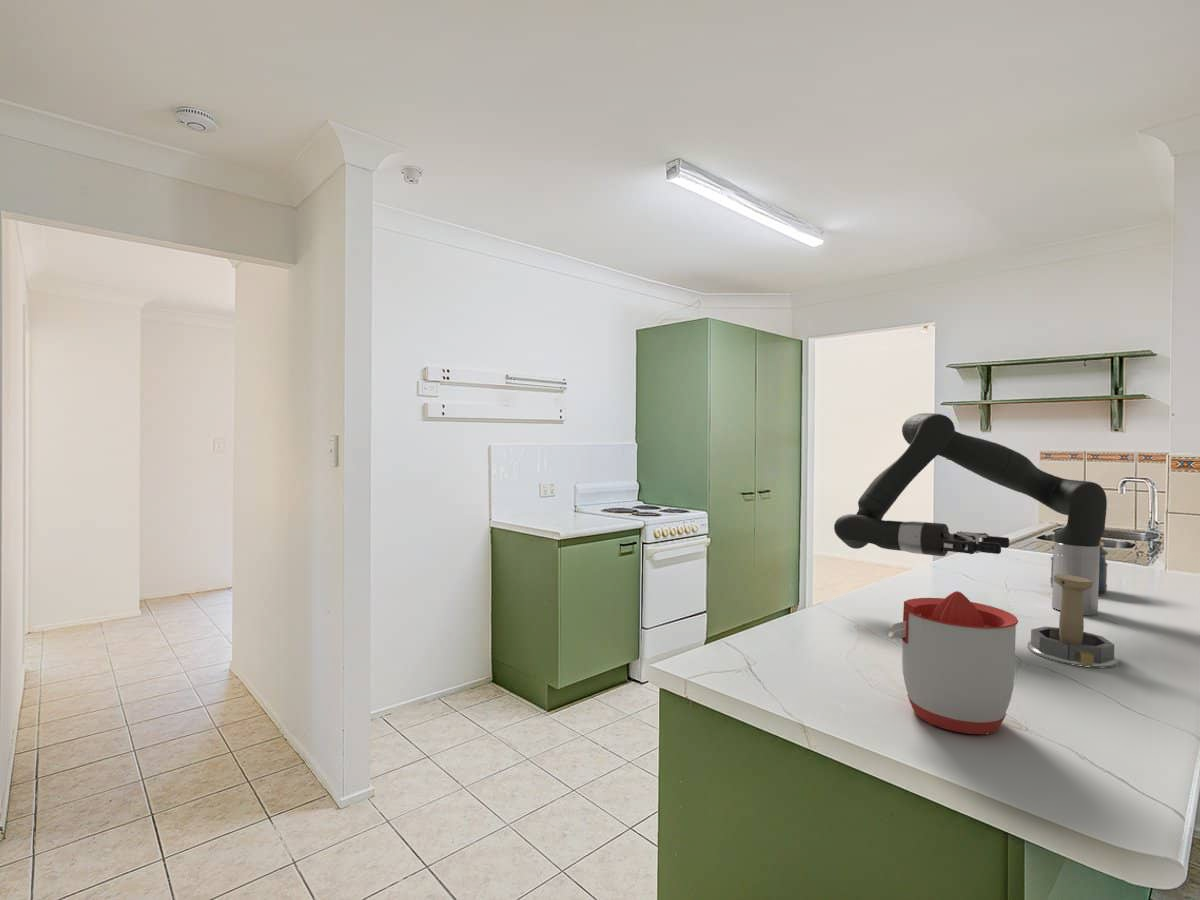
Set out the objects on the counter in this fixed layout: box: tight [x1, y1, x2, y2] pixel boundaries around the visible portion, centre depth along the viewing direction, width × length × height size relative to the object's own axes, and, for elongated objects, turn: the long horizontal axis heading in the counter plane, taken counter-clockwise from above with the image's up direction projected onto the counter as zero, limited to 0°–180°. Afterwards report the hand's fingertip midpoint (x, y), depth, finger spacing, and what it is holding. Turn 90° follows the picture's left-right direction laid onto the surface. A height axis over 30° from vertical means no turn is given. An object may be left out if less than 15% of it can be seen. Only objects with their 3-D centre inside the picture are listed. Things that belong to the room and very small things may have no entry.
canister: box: [1049, 540, 1109, 595], centre depth 176 cm, size 13×13×18 cm
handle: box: [1054, 574, 1093, 645], centre depth 123 cm, size 5×6×15 cm
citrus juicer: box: [888, 590, 1019, 735], centre depth 95 cm, size 16×17×20 cm
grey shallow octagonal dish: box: [1027, 626, 1118, 668], centre depth 124 cm, size 15×14×4 cm
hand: (1005, 545), depth 132 cm, fingers open, 8 cm apart
